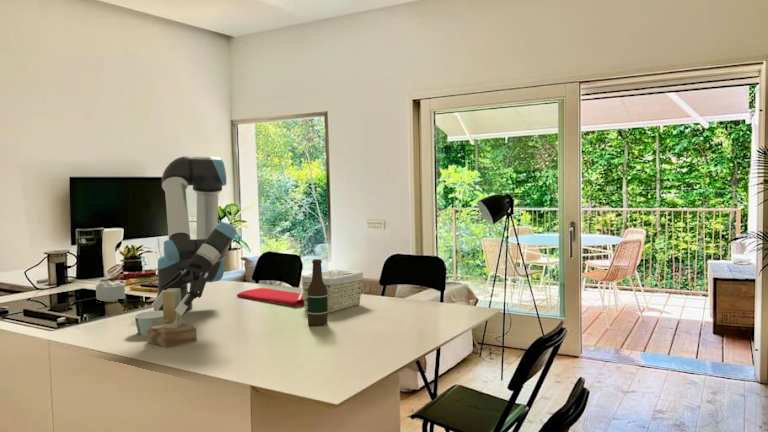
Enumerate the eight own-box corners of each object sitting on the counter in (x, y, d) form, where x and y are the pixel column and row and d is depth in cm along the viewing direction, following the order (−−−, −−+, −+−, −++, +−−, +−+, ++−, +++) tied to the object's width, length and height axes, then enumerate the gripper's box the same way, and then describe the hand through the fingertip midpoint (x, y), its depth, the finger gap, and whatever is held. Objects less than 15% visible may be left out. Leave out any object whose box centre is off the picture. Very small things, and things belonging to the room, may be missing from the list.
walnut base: (147, 342, 190) (147, 327, 190) (177, 335, 199) (177, 321, 199) (166, 347, 184) (166, 332, 184) (196, 340, 193) (196, 325, 192)
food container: (148, 338, 196) (147, 319, 196) (126, 333, 202) (125, 315, 202) (177, 330, 206) (177, 312, 206) (156, 326, 212) (155, 309, 212)
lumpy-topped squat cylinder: (107, 303, 257) (106, 284, 257) (90, 300, 264) (89, 281, 264) (128, 299, 266) (128, 281, 266) (111, 297, 273) (110, 278, 273)
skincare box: (168, 324, 194) (168, 288, 194) (182, 323, 195) (181, 287, 194) (162, 328, 188) (162, 291, 187) (176, 328, 188) (175, 291, 188)
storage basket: (335, 301, 260) (334, 268, 259) (365, 304, 251) (364, 270, 251) (300, 310, 240) (299, 275, 239) (331, 314, 231) (330, 278, 230)
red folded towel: (263, 293, 283) (263, 285, 283) (322, 303, 256) (322, 295, 256) (236, 298, 271) (236, 290, 271) (295, 309, 244) (294, 300, 244)
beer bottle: (324, 326, 210) (323, 261, 209) (304, 326, 212) (303, 260, 211) (330, 322, 218) (330, 258, 217) (311, 321, 219) (310, 258, 218)
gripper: (233, 269, 195) (195, 322, 184) (189, 264, 210) (152, 312, 199) (220, 255, 191) (180, 308, 180) (176, 250, 206) (137, 299, 195)
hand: (165, 310), depth 189 cm, fingers open, 13 cm apart
